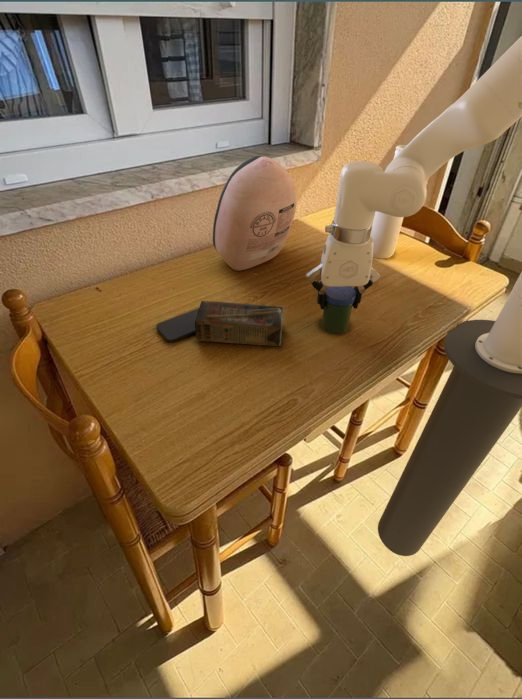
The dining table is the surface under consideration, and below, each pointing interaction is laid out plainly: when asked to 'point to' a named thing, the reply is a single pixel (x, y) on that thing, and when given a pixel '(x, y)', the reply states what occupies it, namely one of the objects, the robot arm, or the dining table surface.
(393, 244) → the alcohol
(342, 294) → the jar lid
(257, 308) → the beverage carton
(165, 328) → the phone
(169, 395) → the dining table surface
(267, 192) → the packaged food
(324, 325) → the jam jar
